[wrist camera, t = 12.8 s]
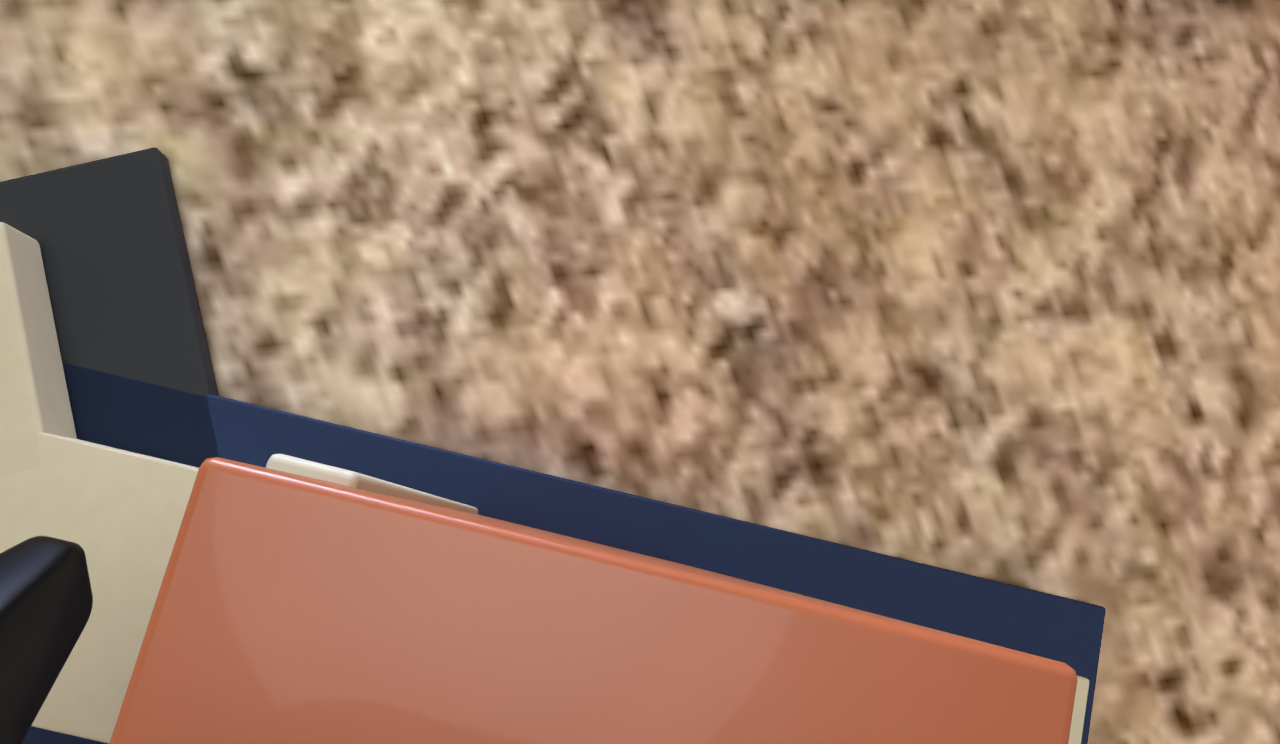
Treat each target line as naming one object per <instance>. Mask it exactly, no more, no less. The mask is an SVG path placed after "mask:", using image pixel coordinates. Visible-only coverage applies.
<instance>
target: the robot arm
mask: <svg viewBox="0 0 1280 744" xmlns="http://www.w3.org/2000/svg"><path fill="white" fill-rule="evenodd" d="M92 605H93V595H92V590H91V584H90V578H89V573H88V567H87V561H86V556H85V552H84V550H83V548H82V547H81V546H80V545H79V544H77V543H74V542H70V541H66V540H61V539H57V538H53V537H48V536H36V537H33V538H29V539H27V540H25V541H23V542H21V543H19V544H17V545H15V546H13V547H11V548H10V549H8V550H6V551H4V552H2V553H0V744H22V742H23V740H24V738H25V736H26V735H27V733H28V731H29V729H30V727H31V725H32V724H33V722H34V720H35V718H36V716H37V714H38V712H39V711H40V709H41V707H42V705H43V703H44V701H45V700H46V698H47V696H48V694H49V692H50V690H51V689H52V687H53V685H54V683H55V681H56V679H57V677H58V676H59V674H60V672H61V670H62V668H63V666H64V665H65V663H66V661H67V659H68V657H69V655H70V654H71V652H72V650H73V648H74V646H75V644H76V642H77V641H78V639H79V637H80V635H81V633H82V631H83V630H84V628H85V626H86V624H87V622H88V619H89V617H90V614H91V610H92Z"/></svg>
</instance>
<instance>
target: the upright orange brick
mask: <svg viewBox="0 0 1280 744" xmlns="http://www.w3.org/2000/svg"><path fill="white" fill-rule="evenodd" d="M1076 686H1077V675H1076V671H1075V670H1074V669H1073V668H1071V667H1070V666H1069V665H1067V664H1066V663H1064V662H1060V661H1056V660H1052V659H1048V658H1044V657H1040V656H1036V655H1033V654H1029V653H1025V652H1021V651H1017V650H1013V649H1009V648H1006V647H1002V646H998V645H994V644H990V643H986V642H982V641H978V640H975V639H971V638H967V637H963V636H959V635H955V634H951V633H948V632H944V631H940V630H936V629H932V628H928V627H924V626H920V625H917V624H913V623H909V622H905V621H901V620H897V619H893V618H889V617H886V616H882V615H878V614H874V613H870V612H866V611H862V610H859V609H855V608H851V607H847V606H843V605H839V604H835V603H831V602H828V601H824V600H820V599H816V598H812V597H808V596H804V595H801V594H797V593H793V592H789V591H785V590H781V589H777V588H773V587H770V586H766V585H762V584H758V583H754V582H750V581H746V580H742V579H739V578H735V577H731V576H727V575H723V574H719V573H715V572H712V571H708V570H704V569H700V568H696V567H692V566H688V565H684V564H680V563H676V562H672V561H668V560H664V559H660V558H655V557H651V556H647V555H643V554H639V553H635V552H631V551H627V550H623V549H618V548H614V547H610V546H606V545H602V544H598V543H594V542H590V541H586V540H581V539H577V538H573V537H569V536H565V535H561V534H557V533H553V532H549V531H544V530H540V529H536V528H532V527H528V526H524V525H520V524H516V523H511V522H507V521H503V520H499V519H495V518H491V517H487V516H483V515H479V514H478V509H477V508H476V507H473V506H469V505H466V504H462V503H459V502H456V501H452V500H449V499H445V498H442V497H439V496H435V495H432V494H429V493H425V492H422V491H418V490H415V489H412V488H408V487H405V486H401V485H398V484H395V483H391V482H388V481H384V480H381V479H378V478H374V477H371V476H367V475H364V474H361V473H357V472H354V471H350V470H346V469H342V468H338V467H334V466H330V465H325V464H321V463H317V462H313V461H309V460H305V459H301V458H297V457H293V456H289V455H284V454H273V455H272V456H271V457H270V458H269V460H268V461H267V465H266V468H265V467H260V466H256V465H251V464H247V463H242V462H238V461H233V460H229V459H224V458H219V457H215V458H208V459H206V460H205V461H204V462H203V463H202V465H201V466H200V467H199V470H198V473H197V476H196V479H195V482H194V485H193V488H192V491H191V495H190V498H189V501H188V504H187V507H186V510H185V513H184V516H183V519H182V522H181V525H180V528H179V531H178V534H177V537H176V541H175V544H174V547H173V550H172V553H171V556H170V559H169V562H168V565H167V568H166V571H165V574H164V577H163V580H162V583H161V587H160V590H159V593H158V596H157V599H156V602H155V605H154V608H153V611H152V614H151V617H150V620H149V623H148V626H147V629H146V633H145V636H144V639H143V642H142V645H141V648H140V651H139V654H138V657H137V660H136V663H135V666H134V669H133V672H132V676H131V679H130V682H129V685H128V688H127V691H126V694H125V697H124V700H123V703H122V706H121V709H120V712H119V715H118V718H117V722H116V725H115V728H114V731H113V734H112V737H111V740H110V743H109V744H1068V741H1069V734H1070V727H1071V721H1072V714H1073V707H1074V700H1075V693H1076Z"/></svg>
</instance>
